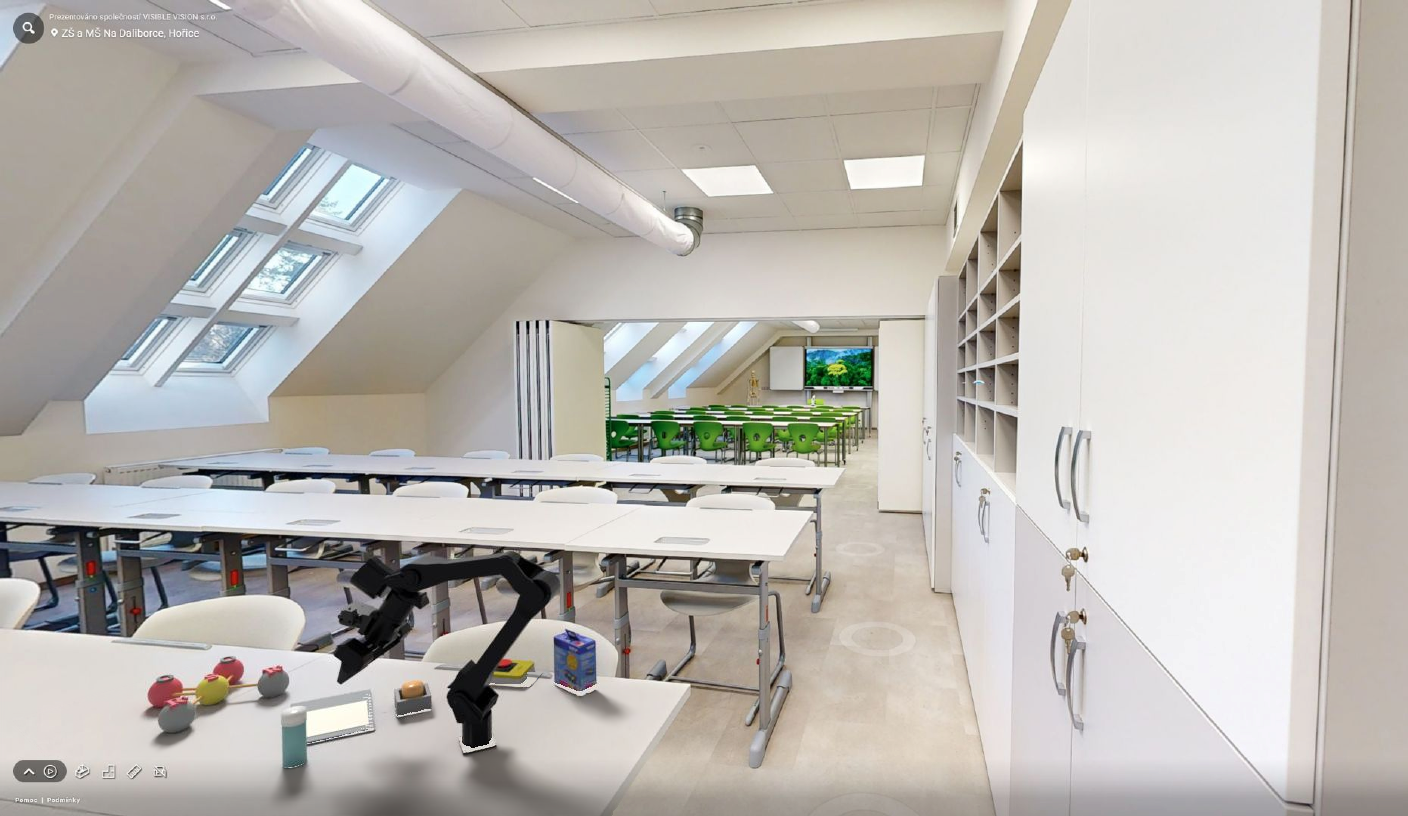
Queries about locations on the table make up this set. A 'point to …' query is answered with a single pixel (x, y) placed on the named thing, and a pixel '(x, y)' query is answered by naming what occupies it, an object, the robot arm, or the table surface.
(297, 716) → the white-capped teal tube
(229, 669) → the molecule model
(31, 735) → the table surface
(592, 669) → the ink cartridge box
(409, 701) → the button housing
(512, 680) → the emergency button
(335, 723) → the drawing board
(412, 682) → the button
